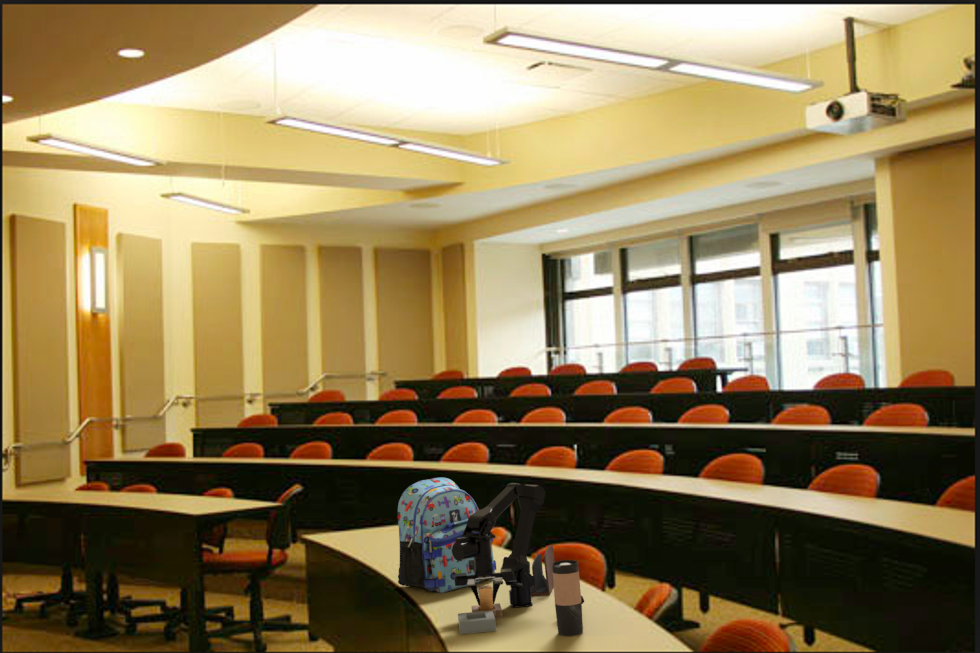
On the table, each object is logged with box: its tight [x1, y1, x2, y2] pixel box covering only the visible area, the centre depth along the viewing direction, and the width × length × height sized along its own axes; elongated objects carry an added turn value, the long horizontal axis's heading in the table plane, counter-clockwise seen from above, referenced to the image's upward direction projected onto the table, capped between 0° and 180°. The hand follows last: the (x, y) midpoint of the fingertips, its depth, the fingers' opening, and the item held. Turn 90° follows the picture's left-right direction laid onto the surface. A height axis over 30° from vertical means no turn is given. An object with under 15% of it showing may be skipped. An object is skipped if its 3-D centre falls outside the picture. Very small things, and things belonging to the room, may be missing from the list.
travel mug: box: [552, 559, 584, 637], centre depth 290 cm, size 8×8×20 cm
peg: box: [477, 584, 493, 611], centre depth 316 cm, size 4×4×9 cm
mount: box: [470, 602, 504, 620], centre depth 316 cm, size 9×9×2 cm
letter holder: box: [528, 544, 556, 597], centre depth 348 cm, size 10×20×14 cm, turn 169°
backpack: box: [397, 477, 497, 594], centre depth 369 cm, size 34×25×38 cm
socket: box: [457, 610, 497, 635], centre depth 303 cm, size 11×11×4 cm
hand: (486, 604), depth 316 cm, fingers open, 4 cm apart
